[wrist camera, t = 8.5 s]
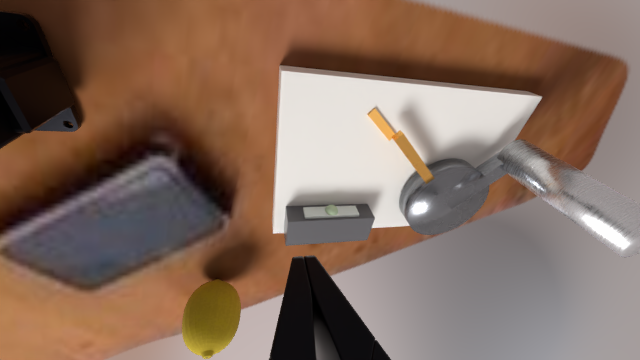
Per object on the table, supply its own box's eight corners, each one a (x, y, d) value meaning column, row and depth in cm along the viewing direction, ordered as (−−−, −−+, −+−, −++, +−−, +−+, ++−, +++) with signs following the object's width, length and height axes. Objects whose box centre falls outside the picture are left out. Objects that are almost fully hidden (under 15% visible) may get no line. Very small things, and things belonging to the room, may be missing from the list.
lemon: (208, 259, 27) (194, 340, 21) (251, 274, 30) (250, 348, 24) (181, 285, 29) (160, 367, 23) (224, 297, 32) (216, 373, 26)
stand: (272, 222, 26) (274, 249, 23) (279, 65, 17) (284, 79, 15) (453, 214, 31) (472, 235, 29) (527, 91, 23) (565, 105, 20)
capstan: (349, 159, 21) (418, 282, 12) (489, 46, 18) (722, 103, 9) (418, 231, 29) (490, 336, 20) (524, 162, 26) (665, 253, 17)
